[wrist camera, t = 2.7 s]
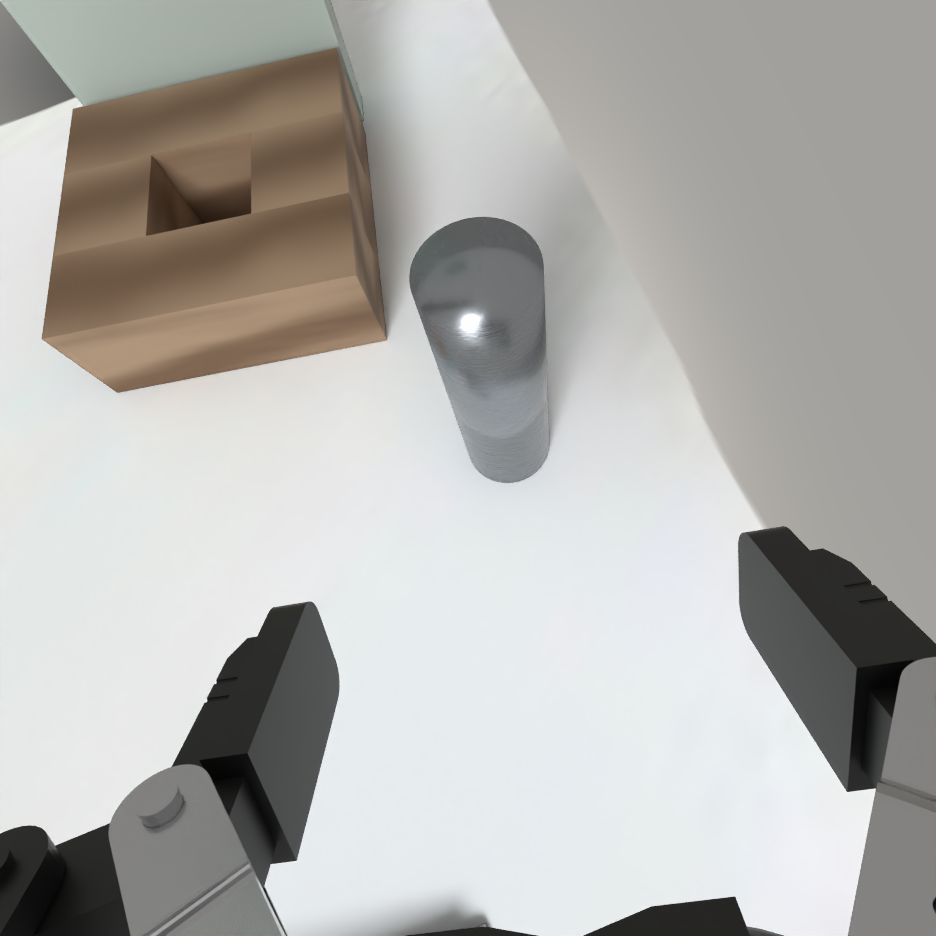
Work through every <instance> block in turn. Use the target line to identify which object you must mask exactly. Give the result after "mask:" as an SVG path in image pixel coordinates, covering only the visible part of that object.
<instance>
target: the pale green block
mask: <svg viewBox="0 0 936 936" xmlns="http://www.w3.org/2000/svg"><path fill="white" fill-rule="evenodd" d="M0 1H1V3H2V4H3V5H4V6H5V8H6V9H7V10H8V11H9V13H10V14H11V15H12V16H13V18H14V19H15V20H16V22H17V23H18V24H19V25H20V27H21V28H22V29H23V30H24V32H25V33H26V34H27V35H28V37H29V38H30V39H31V40H32V42H33V43H34V44H35V46H36V47H37V48H38V49H39V51H40V52H41V53H42V54H43V56H44V57H45V58H46V59H47V61H48V62H49V63H50V64H51V66H52V67H53V68H54V70H55V71H56V72H57V73H58V75H59V76H60V77H61V78H62V79H63V81H64V82H65V83H66V85H67V86H68V87H69V88H70V90H71V91H72V92H73V93H74V95H75V96H76V97H77V99H78V100H79V101H80V102H81V104H82V105H83V106H87V105H92V104H96V103H100V102H105V101H109V100H113V99H118V98H122V97H126V96H130V95H135V94H139V93H143V92H148V91H152V90H156V89H161V88H165V87H169V86H173V85H178V84H182V83H186V82H191V81H195V80H199V79H204V78H208V77H212V76H217V75H221V74H225V73H229V72H234V71H238V70H242V69H247V68H251V67H255V66H260V65H264V64H268V63H272V62H277V61H281V60H285V59H290V58H294V57H298V56H303V55H307V54H311V53H315V52H320V51H324V50H328V49H333V48H337V51H338V54H339V57H340V60H341V63H342V66H343V69H344V72H345V75H346V78H347V81H348V84H349V87H350V90H351V93H352V95H353V98H354V101H355V104H356V107H357V110H358V113H359V116H360V119H361V121H363V120H364V118H363V108H362V98H361V94H360V91H359V87H358V84H357V81H356V78H355V75H354V72H353V69H352V66H351V63H350V60H349V56H348V53H347V50H346V47H345V44H344V41H343V38H342V35H341V32H340V29H339V25H338V22H337V19H336V16H335V13H334V10H333V7H332V4H331V1H330V0H0Z"/></svg>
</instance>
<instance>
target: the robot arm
mask: <svg viewBox="0 0 936 936" xmlns="http://www.w3.org/2000/svg"><path fill="white" fill-rule="evenodd" d="M738 557H739V604H740V611H741V616H742V620H743V623H744V626H745V629H746V631H747V633H748V636H749V637H750V639H751V641H752V642H753V644H754V645H755V647H756V649H757V650H758V652H759V653H760V655H761V656H762V658H763V660H764V661H765V663H766V664H767V666H768V668H769V669H770V671H771V672H772V674H773V675H774V677H775V679H776V680H777V682H778V683H779V685H780V687H781V688H782V690H783V691H784V693H785V694H786V696H787V698H788V699H789V701H790V702H791V704H792V705H793V707H794V709H795V710H796V712H797V713H798V715H799V717H800V718H801V720H802V721H803V723H804V724H805V726H806V728H807V729H808V731H809V732H810V734H811V736H812V737H813V739H814V740H815V742H816V743H817V745H818V747H819V748H820V750H821V751H822V753H823V754H824V756H825V758H826V759H827V761H828V762H829V764H830V766H831V767H832V769H833V770H834V772H835V773H836V775H837V777H838V778H839V780H840V781H841V783H842V785H843V786H844V788H845V789H846V791H847V792H850V791H858V790H866V789H873V788H876V792H875V797H874V802H873V808H872V813H871V818H870V823H869V828H868V834H867V839H866V844H865V849H864V854H863V860H862V865H861V870H860V875H859V881H858V886H857V891H856V896H855V901H854V907H853V912H852V917H851V922H850V927H849V933H848V936H936V644H935V643H934V642H933V641H932V640H931V639H930V638H929V637H928V636H927V635H926V634H925V633H924V632H923V631H922V630H921V629H920V628H919V627H918V626H916V624H915V623H913V621H912V620H910V619H909V618H908V617H907V616H906V615H905V614H904V613H903V612H902V611H901V610H900V609H899V608H898V607H897V606H896V605H895V604H894V603H893V602H892V601H888V599H887V596H886V595H885V594H884V593H883V592H881V591H880V590H879V589H878V588H877V587H876V586H875V585H872V584H871V581H870V580H869V579H868V578H867V577H866V576H865V575H864V574H863V573H862V572H861V571H860V570H859V569H858V568H857V567H856V566H855V565H853V564H852V563H851V562H849V561H847V560H845V559H843V558H841V557H839V556H837V555H835V554H833V553H831V552H829V551H827V550H825V549H817V550H811V551H810V550H809V549H808V548H807V547H806V546H805V545H804V544H803V543H802V542H801V541H800V540H799V539H798V538H797V537H796V536H795V535H794V534H793V532H792V531H791V530H790V529H789V528H787V527H784V526H782V527H776V528H770V529H764V530H758V531H751V532H745V533H742V534H741V535H740V537H739V542H738ZM216 681H217V684H214V686H213V688H212V690H211V691H210V693H209V695H208V697H207V703H204V705H203V707H202V709H201V711H200V713H199V715H198V717H197V719H196V721H195V723H194V725H193V726H192V728H191V730H190V732H189V734H188V736H187V738H186V740H185V742H184V744H183V746H182V748H181V750H180V752H179V754H178V756H177V758H176V760H175V761H174V763H173V765H172V767H171V768H167V769H165V770H163V771H160V772H158V773H157V774H155V775H153V776H151V777H150V778H148V779H147V780H145V781H144V782H142V783H141V784H140V785H138V786H137V787H136V788H135V789H134V790H133V791H132V792H131V793H130V794H129V795H128V796H127V797H126V798H125V799H124V800H123V801H122V803H121V804H120V805H119V807H118V808H117V810H116V812H115V813H114V815H113V817H112V820H111V823H109V824H107V825H105V826H102V827H100V828H97V829H95V830H92V831H90V832H88V833H85V834H83V835H80V836H78V837H75V838H73V839H71V840H68V841H66V842H63V843H61V844H58V845H56V846H55V845H54V844H53V842H52V841H51V839H50V838H49V836H48V835H47V833H46V832H45V831H44V830H43V829H42V828H40V827H37V826H21V827H17V828H14V829H11V830H8V831H5V832H3V833H1V834H0V936H288V935H287V932H286V930H285V928H284V926H283V924H282V922H281V920H280V917H279V915H278V913H277V911H276V909H275V907H274V905H273V903H272V900H271V898H270V896H269V894H268V892H267V890H266V888H265V886H264V885H265V881H266V878H267V875H268V871H269V868H270V864H275V863H282V862H290V861H297V857H298V853H299V849H300V845H301V841H302V837H303V834H304V830H305V826H306V822H307V818H308V814H309V810H310V806H311V802H312V798H313V794H314V790H315V787H316V783H317V779H318V775H319V771H320V767H321V763H322V759H323V755H324V751H325V747H326V744H327V740H328V736H329V732H330V728H331V724H332V720H333V716H334V712H335V708H336V704H337V700H338V696H339V673H338V667H337V664H336V660H335V658H334V655H333V652H332V649H331V646H330V643H329V640H328V638H327V635H326V632H325V629H324V626H323V623H322V620H321V617H320V615H319V612H318V609H317V607H316V606H315V604H314V603H313V602H304V603H298V604H292V605H286V606H279V607H274V608H272V609H271V610H270V611H269V613H268V615H267V617H266V619H265V621H264V624H263V626H262V628H261V630H260V632H259V634H258V636H257V637H252V638H247V639H246V640H245V641H244V642H243V643H242V644H241V645H240V646H239V647H238V648H237V649H236V650H235V651H234V652H233V653H232V654H231V655H230V656H229V657H228V658H227V660H226V662H225V664H224V666H223V668H222V670H221V672H220V674H219V676H218V678H217V680H216ZM407 936H536V935H530V934H524V933H519V932H513V931H507V930H501V929H495V928H490V927H484V926H483V927H475V928H467V929H458V930H450V931H441V932H433V933H424V934H416V935H407ZM584 936H783V935H780V934H776V933H773V932H769V931H766V930H762V929H758V928H752V927H747V926H746V924H745V922H744V919H743V916H742V914H741V911H740V908H739V906H738V903H737V900H736V898H735V897H728V898H720V899H711V900H703V901H694V902H686V903H677V904H669V905H661V906H652V907H649V908H647V909H645V910H642V911H640V912H638V913H635V914H633V915H631V916H628V917H626V918H624V919H621V920H619V921H617V922H614V923H612V924H610V925H607V926H605V927H603V928H600V929H598V930H596V931H593V932H591V933H589V934H586V935H584Z"/></svg>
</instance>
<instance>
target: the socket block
mask: <svg viewBox="0 0 936 936" xmlns="http://www.w3.org/2000/svg"><path fill="white" fill-rule="evenodd" d="M42 340H44V341H45V342H47V343H48V344H49V345H51V346H52V347H54V348H55V349H56V350H58V351H59V352H61V353H62V354H64V355H65V356H66V357H68V358H69V359H71V360H72V361H73V362H75V363H76V364H78V365H79V366H80V367H82V368H83V369H85V370H86V371H87V372H89V373H90V374H92V375H93V376H95V377H96V378H97V379H99V380H100V381H102V382H103V383H104V384H106V385H107V386H109V387H110V388H111V389H113V390H114V391H116V392H117V393H118V392H123V391H128V390H134V389H139V388H144V387H149V386H154V385H159V384H164V383H169V382H175V381H180V380H185V379H190V378H195V377H200V376H205V375H210V374H215V373H221V372H226V371H231V370H236V369H241V368H246V367H251V366H256V365H262V364H267V363H272V362H277V361H282V360H287V359H292V358H297V357H303V356H308V355H313V354H318V353H323V352H328V351H333V350H338V349H344V348H349V347H354V346H359V345H364V344H369V343H374V342H379V341H385V340H387V339H386V329H385V320H384V310H383V301H382V291H381V281H380V272H379V262H378V252H377V243H376V233H375V223H374V214H373V204H372V195H371V185H370V175H369V166H368V156H367V146H366V137H365V131H364V128H363V125H362V122H361V119H360V116H359V113H358V110H357V107H356V104H355V101H354V98H353V95H352V93H351V90H350V87H349V84H348V81H347V78H346V75H345V72H344V69H343V66H342V63H341V60H340V57H339V54H338V51H337V48H333V49H328V50H324V51H320V52H315V53H311V54H307V55H303V56H298V57H294V58H290V59H285V60H281V61H277V62H272V63H268V64H264V65H260V66H255V67H251V68H247V69H242V70H238V71H234V72H229V73H225V74H221V75H217V76H212V77H208V78H204V79H199V80H195V81H191V82H186V83H182V84H178V85H173V86H169V87H165V88H161V89H156V90H152V91H148V92H143V93H139V94H135V95H130V96H126V97H122V98H118V99H113V100H109V101H105V102H100V103H96V104H92V105H87V106H83V107H79V108H75V109H73V113H72V120H71V127H70V135H69V142H68V149H67V157H66V164H65V172H64V179H63V186H62V194H61V201H60V208H59V216H58V223H57V230H56V238H55V245H54V253H53V260H52V267H51V275H50V282H49V289H48V297H47V304H46V312H45V319H44V326H43V334H42Z"/></svg>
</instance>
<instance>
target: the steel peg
mask: <svg viewBox="0 0 936 936" xmlns="http://www.w3.org/2000/svg"><path fill="white" fill-rule="evenodd" d="M410 288H411V292H412V295H413V298H414V301H415V303H416V306H417V309H418V312H419V315H420V318H421V320H422V323H423V326H424V329H425V332H426V335H427V337H428V340H429V343H430V346H431V349H432V352H433V354H434V357H435V360H436V363H437V366H438V369H439V371H440V374H441V377H442V380H443V383H444V385H445V388H446V391H447V394H448V397H449V400H450V402H451V405H452V408H453V411H454V414H455V417H456V419H457V422H458V425H459V428H460V431H461V434H462V436H463V439H464V442H465V445H466V448H467V451H468V453H469V456H470V459H471V461H472V463H473V465H474V466H475V468H476V469H477V470H478V471H479V472H480V473H481V474H482V475H484V476H485V477H487V478H489V479H491V480H493V481H497V482H502V483H513V482H518V481H521V480H524V479H526V478H528V477H530V476H532V475H533V474H534V473H536V472H537V471H538V470H539V469H540V468H541V466H542V465H543V463H544V462H545V460H546V457H547V455H548V451H549V423H548V392H547V361H546V329H545V298H544V267H543V258H542V254H541V251H540V249H539V247H538V245H537V243H536V242H535V240H534V239H533V238H532V237H531V236H530V235H529V234H528V233H527V232H526V231H525V230H524V229H522V228H521V227H519V226H517V225H515V224H513V223H511V222H509V221H506V220H502V219H498V218H491V217H475V218H468V219H463V220H460V221H457V222H454V223H451V224H449V225H447V226H445V227H443V228H441V229H440V230H438V231H437V232H435V233H434V234H433V235H431V236H430V237H429V238H428V239H427V240H426V241H425V242H424V243H423V245H422V246H421V247H420V248H419V250H418V251H417V253H416V255H415V257H414V259H413V262H412V265H411V269H410Z"/></svg>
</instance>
